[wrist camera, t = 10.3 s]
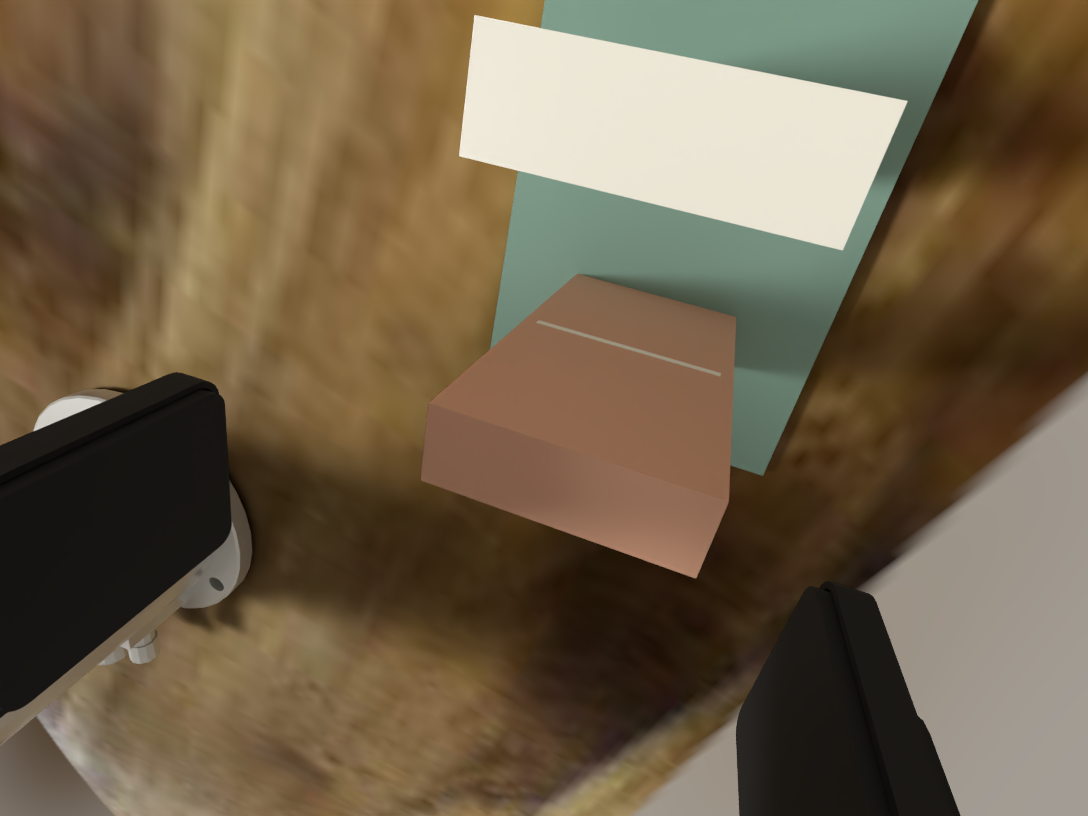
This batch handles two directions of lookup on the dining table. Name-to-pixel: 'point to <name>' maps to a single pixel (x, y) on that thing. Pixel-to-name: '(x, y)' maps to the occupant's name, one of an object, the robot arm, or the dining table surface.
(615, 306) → the salmon pink domino
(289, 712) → the dining table surface
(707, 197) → the domino
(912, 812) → the robot arm
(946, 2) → the felt mat
